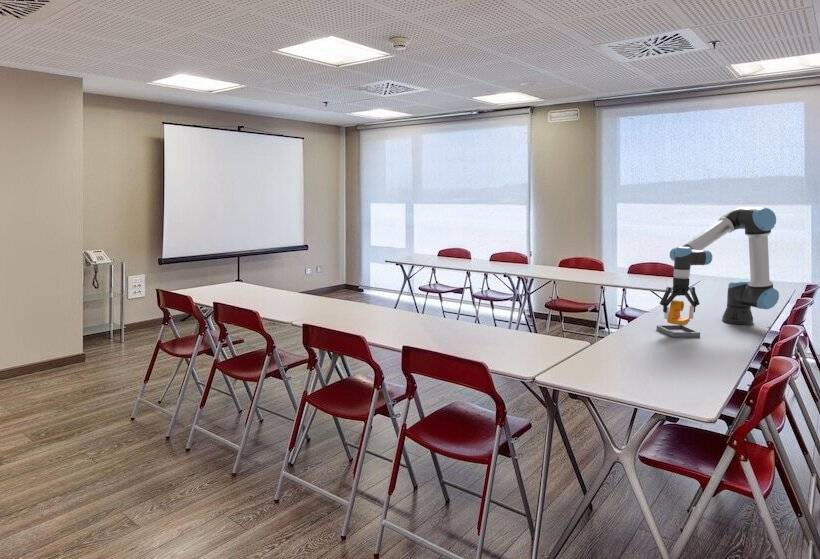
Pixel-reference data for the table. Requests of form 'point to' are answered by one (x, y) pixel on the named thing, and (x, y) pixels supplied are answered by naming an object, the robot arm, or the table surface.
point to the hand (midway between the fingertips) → (678, 318)
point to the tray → (678, 331)
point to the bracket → (677, 313)
